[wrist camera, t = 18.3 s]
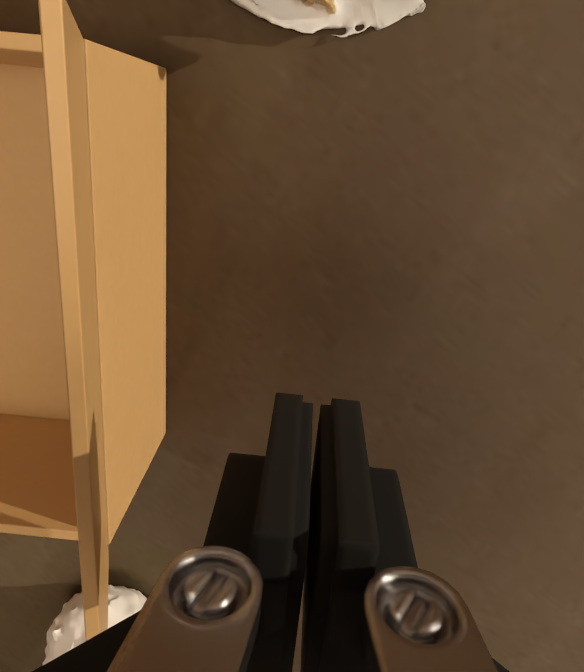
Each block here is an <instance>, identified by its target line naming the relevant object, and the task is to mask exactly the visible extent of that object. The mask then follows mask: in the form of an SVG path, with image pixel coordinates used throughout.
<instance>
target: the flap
mask: <svg viewBox="0 0 584 672" xmlns="http://www.w3.org/2000/svg"><path fill="white" fill-rule="evenodd" d="M38 3H39V17H40V30H41V44H42V57H43V71H44V84H45V98H46V111H47V125H48V138H49V152H50V165H51V179H52V192H53V206H54V219H55V233H56V246H57V260H58V273H59V287H60V300H61V314H62V327H63V341H64V354H65V368H66V381H67V395H68V408H69V422H70V435H71V449H72V462H73V475H74V489H75V502H76V516H77V529H78V543H79V556H80V570H81V583H82V597H83V610H84V624H85V637H86V641H87V640H89V639H91V638H92V637H94V636H96V635H98V634H99V633H101V632H103V631H105V630H107V629H108V561H109V555H108V534H107V514H106V493H105V473H104V452H103V431H102V411H101V390H100V369H99V349H98V328H97V307H96V287H95V266H94V245H93V225H92V204H91V184H90V163H89V142H88V122H87V101H86V80H85V60H84V40H83V38H82V35H81V33H80V31H79V28H78V26H77V24H76V22H75V19H74V17H73V15H72V13H71V10H70V8H69V6H68V4H67V1H66V0H38Z"/></svg>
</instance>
